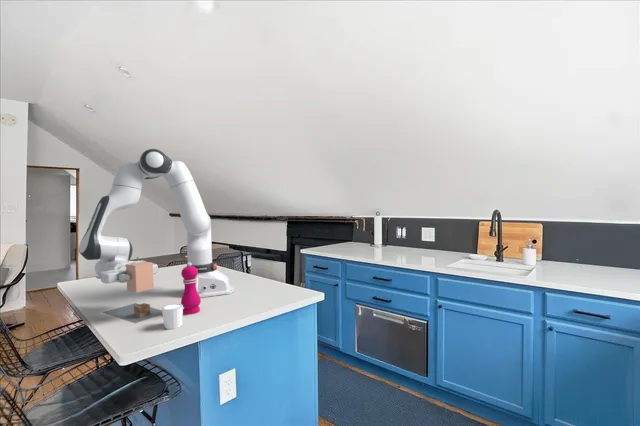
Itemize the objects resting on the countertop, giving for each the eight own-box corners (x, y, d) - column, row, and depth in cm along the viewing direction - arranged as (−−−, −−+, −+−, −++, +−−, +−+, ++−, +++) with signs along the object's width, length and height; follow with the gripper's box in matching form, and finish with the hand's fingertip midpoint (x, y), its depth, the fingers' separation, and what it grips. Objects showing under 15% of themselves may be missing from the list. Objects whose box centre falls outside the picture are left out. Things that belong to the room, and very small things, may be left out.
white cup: (167, 323, 121) (166, 304, 121) (186, 321, 121) (185, 303, 121) (159, 330, 114) (158, 310, 114) (180, 329, 115) (179, 309, 114)
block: (144, 313, 131) (144, 303, 131) (150, 314, 129) (149, 304, 129) (134, 316, 128) (133, 305, 128) (140, 318, 126) (139, 307, 126)
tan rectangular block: (144, 286, 132) (143, 261, 132) (153, 288, 129) (152, 262, 128) (127, 290, 127) (125, 264, 127) (136, 292, 123) (135, 265, 123)
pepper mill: (189, 317, 126) (186, 264, 125) (177, 314, 130) (175, 263, 129) (205, 311, 132) (202, 261, 131) (193, 308, 136) (191, 260, 135)
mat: (102, 313, 134) (102, 312, 134) (135, 304, 144) (135, 303, 144) (135, 324, 121) (135, 323, 121) (168, 313, 131) (168, 312, 131)
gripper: (93, 268, 126) (111, 272, 118) (146, 259, 143) (165, 262, 136) (94, 285, 126) (112, 289, 119) (147, 274, 143) (166, 277, 136)
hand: (141, 275), depth 127 cm, fingers closed on tan rectangular block, 7 cm apart
